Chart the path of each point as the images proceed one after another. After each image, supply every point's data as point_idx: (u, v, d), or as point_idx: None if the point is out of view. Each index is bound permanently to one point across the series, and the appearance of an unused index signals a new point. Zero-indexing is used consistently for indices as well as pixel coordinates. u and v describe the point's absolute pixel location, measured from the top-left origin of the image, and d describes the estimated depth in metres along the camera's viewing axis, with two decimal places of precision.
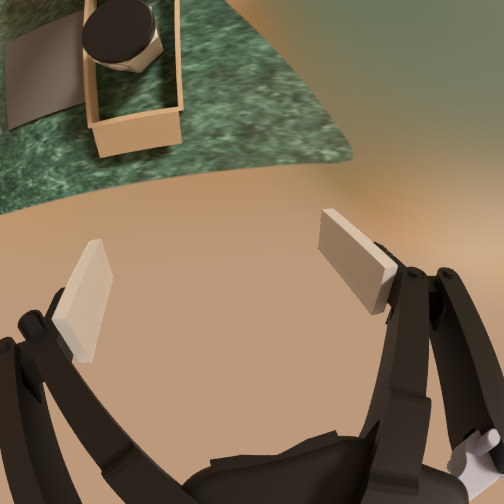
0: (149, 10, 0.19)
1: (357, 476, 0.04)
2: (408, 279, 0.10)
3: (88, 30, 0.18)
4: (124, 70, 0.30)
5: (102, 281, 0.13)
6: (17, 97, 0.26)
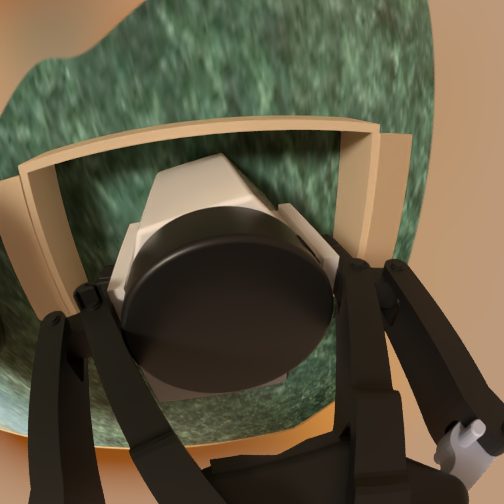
0: (178, 258, 0.08)
1: (341, 482, 0.04)
2: (350, 271, 0.11)
3: (223, 382, 0.12)
4: None
5: None
6: None
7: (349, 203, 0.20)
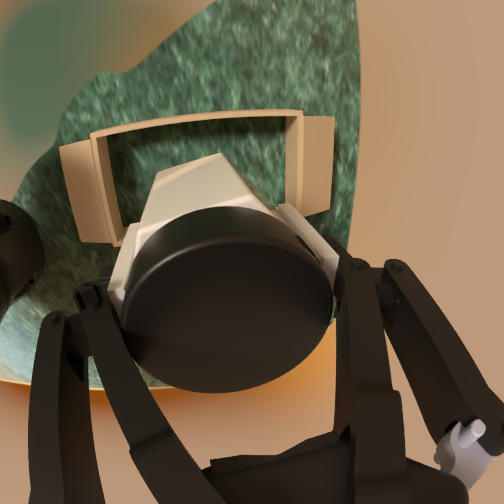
0: (178, 258, 0.08)
1: (341, 482, 0.04)
2: (350, 271, 0.11)
3: (222, 382, 0.12)
4: None
5: None
6: None
7: (291, 162, 0.32)
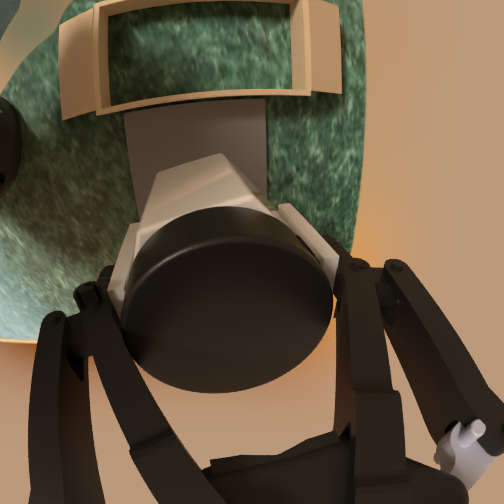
0: (178, 258, 0.08)
1: (341, 481, 0.04)
2: (350, 271, 0.11)
3: (222, 382, 0.12)
4: None
5: None
6: None
7: (297, 40, 0.24)
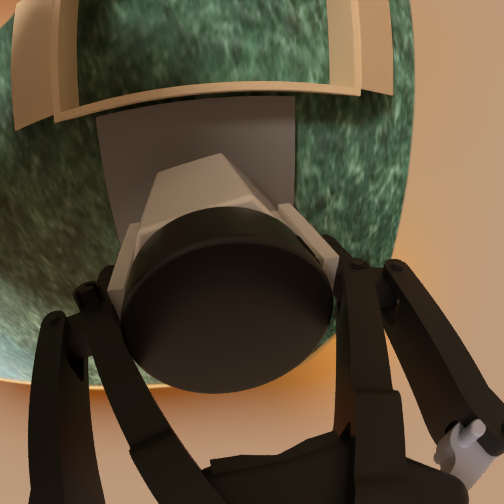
0: (178, 258, 0.08)
1: (341, 482, 0.04)
2: (350, 271, 0.11)
3: (222, 383, 0.12)
4: None
5: None
6: None
7: (338, 20, 0.16)
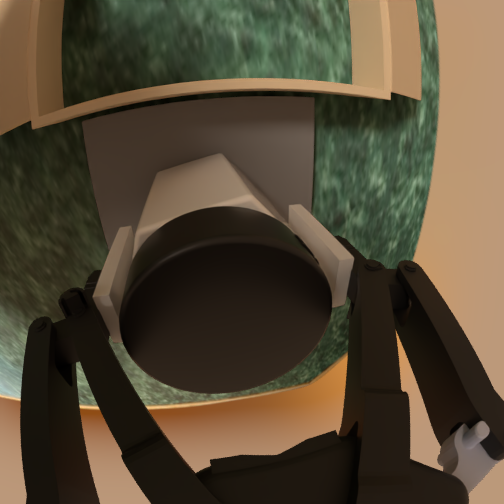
0: (176, 258, 0.08)
1: (345, 480, 0.04)
2: (365, 272, 0.11)
3: (221, 383, 0.12)
4: None
5: None
6: None
7: (363, 13, 0.13)
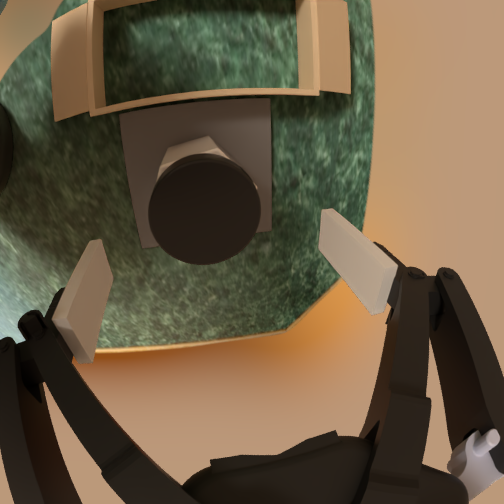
0: (180, 168, 0.17)
1: (357, 476, 0.04)
2: (408, 279, 0.10)
3: (200, 256, 0.21)
4: None
5: (102, 281, 0.13)
6: None
7: (304, 36, 0.23)
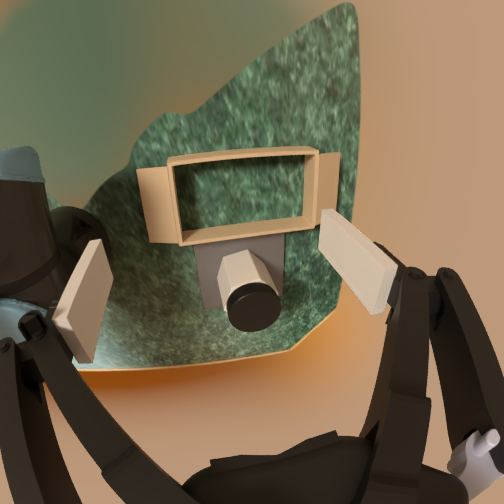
0: (246, 296, 0.40)
1: (357, 476, 0.04)
2: (408, 279, 0.10)
3: (251, 328, 0.43)
4: None
5: (102, 281, 0.13)
6: None
7: (308, 185, 0.45)
